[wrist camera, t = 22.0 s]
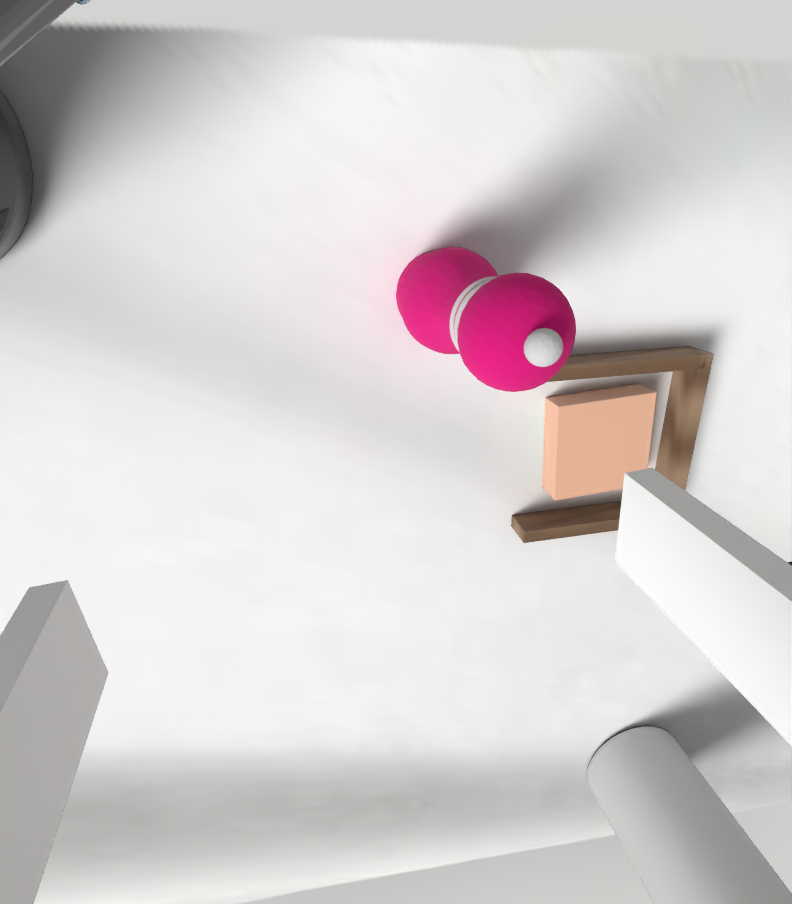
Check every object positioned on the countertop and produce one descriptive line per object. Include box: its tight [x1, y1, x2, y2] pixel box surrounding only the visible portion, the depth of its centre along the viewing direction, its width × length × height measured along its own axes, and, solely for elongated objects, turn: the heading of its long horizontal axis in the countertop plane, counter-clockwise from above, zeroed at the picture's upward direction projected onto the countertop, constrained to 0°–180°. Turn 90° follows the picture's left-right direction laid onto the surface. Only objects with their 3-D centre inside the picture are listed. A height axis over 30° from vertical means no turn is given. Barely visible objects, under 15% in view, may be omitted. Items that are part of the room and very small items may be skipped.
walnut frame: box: [511, 346, 714, 543], centre depth 50 cm, size 16×16×3 cm
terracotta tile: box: [542, 384, 657, 501], centre depth 50 cm, size 9×9×3 cm
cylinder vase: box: [587, 726, 792, 904], centre depth 60 cm, size 12×12×25 cm
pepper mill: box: [396, 247, 576, 392], centre depth 34 cm, size 7×7×20 cm
